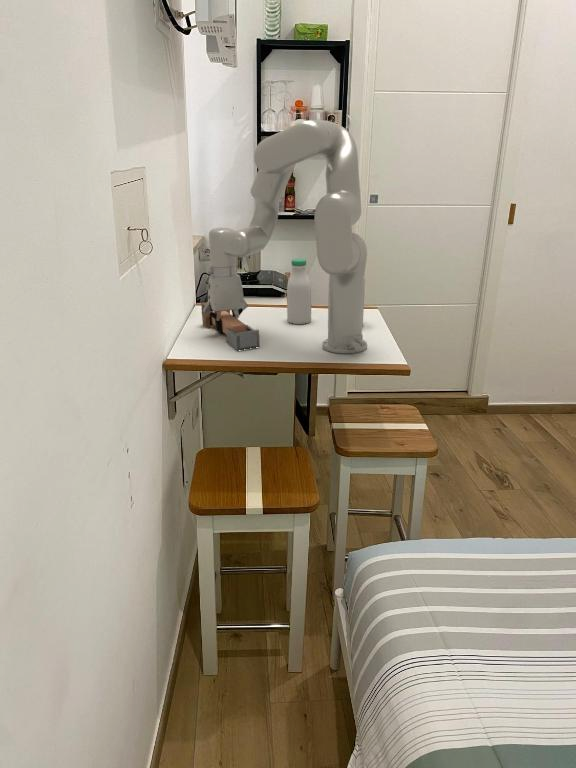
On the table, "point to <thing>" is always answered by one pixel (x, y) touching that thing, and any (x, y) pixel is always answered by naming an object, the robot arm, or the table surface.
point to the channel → (243, 338)
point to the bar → (230, 322)
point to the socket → (207, 317)
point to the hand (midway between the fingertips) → (227, 330)
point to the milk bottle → (299, 294)
